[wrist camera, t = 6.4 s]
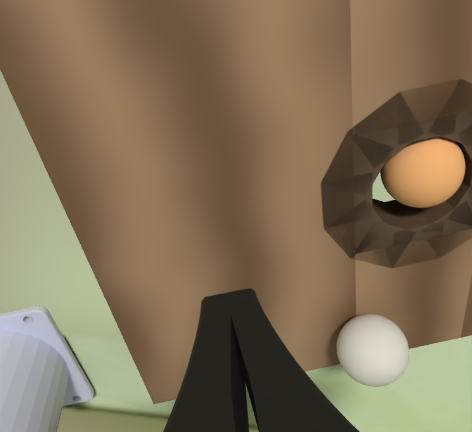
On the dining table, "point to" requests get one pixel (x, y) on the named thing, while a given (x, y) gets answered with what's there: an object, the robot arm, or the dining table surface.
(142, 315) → the board
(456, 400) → the dining table surface
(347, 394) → the dining table surface
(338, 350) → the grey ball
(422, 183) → the orange ball
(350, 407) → the dining table surface
